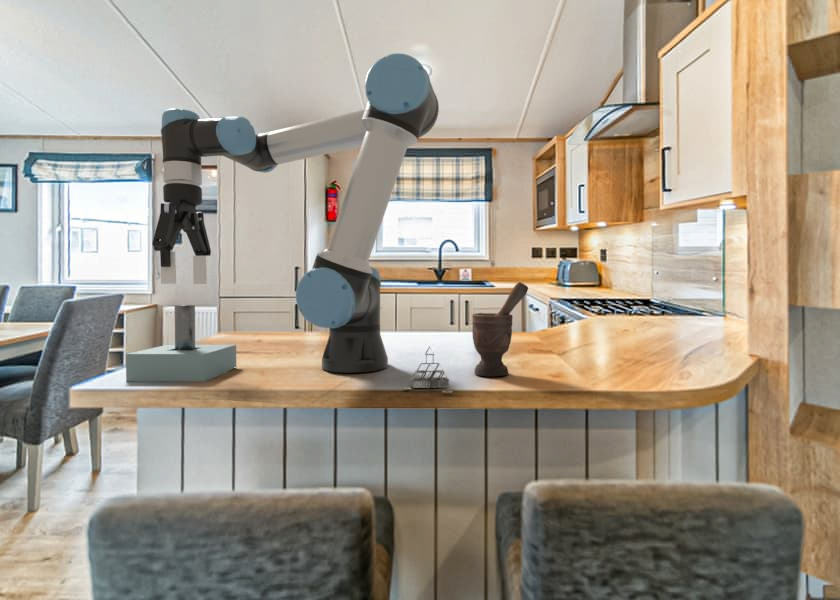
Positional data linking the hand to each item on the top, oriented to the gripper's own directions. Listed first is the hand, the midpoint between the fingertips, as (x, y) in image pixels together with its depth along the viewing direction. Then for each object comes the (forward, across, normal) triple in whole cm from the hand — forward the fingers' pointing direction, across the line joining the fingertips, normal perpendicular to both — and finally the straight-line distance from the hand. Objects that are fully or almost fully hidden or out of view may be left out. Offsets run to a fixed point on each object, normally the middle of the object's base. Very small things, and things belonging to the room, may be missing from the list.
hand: (185, 284), depth 106 cm
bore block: (+20, 0, -1) cm, 20 cm away
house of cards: (+21, +12, +52) cm, 57 cm away
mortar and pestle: (+21, -1, +68) cm, 71 cm away
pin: (+19, 0, -1) cm, 19 cm away
